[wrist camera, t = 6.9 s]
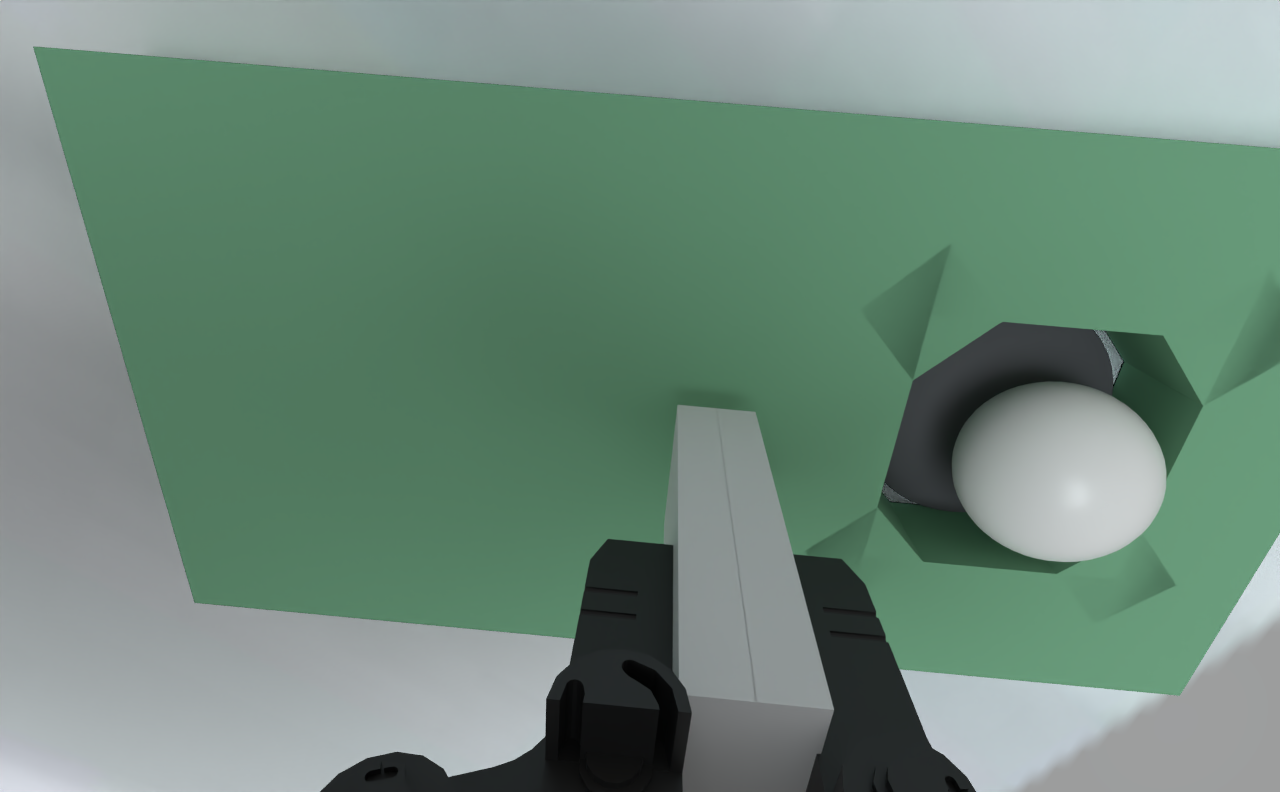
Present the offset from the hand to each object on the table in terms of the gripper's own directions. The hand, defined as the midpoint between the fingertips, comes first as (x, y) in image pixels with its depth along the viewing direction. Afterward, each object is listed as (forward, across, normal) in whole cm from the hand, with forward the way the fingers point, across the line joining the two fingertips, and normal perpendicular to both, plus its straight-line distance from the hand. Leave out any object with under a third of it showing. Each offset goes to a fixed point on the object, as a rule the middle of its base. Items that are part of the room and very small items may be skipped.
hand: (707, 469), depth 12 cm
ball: (+2, +8, 0) cm, 8 cm away
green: (+4, +1, 0) cm, 4 cm away
